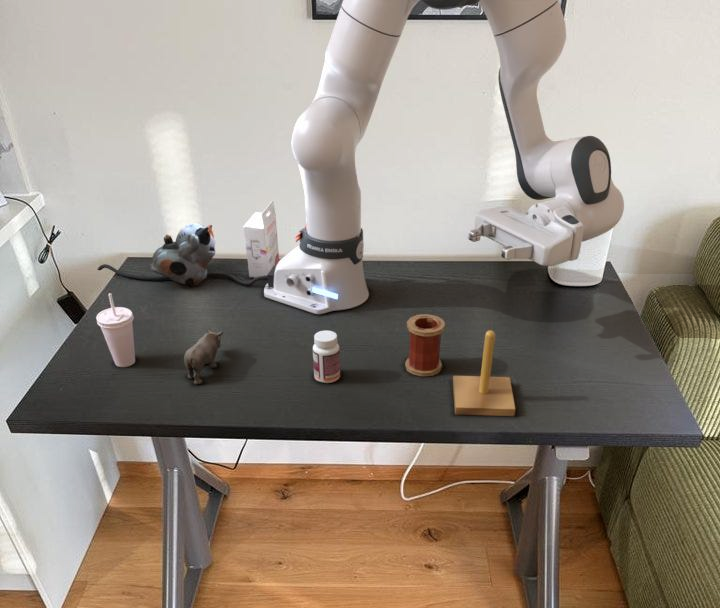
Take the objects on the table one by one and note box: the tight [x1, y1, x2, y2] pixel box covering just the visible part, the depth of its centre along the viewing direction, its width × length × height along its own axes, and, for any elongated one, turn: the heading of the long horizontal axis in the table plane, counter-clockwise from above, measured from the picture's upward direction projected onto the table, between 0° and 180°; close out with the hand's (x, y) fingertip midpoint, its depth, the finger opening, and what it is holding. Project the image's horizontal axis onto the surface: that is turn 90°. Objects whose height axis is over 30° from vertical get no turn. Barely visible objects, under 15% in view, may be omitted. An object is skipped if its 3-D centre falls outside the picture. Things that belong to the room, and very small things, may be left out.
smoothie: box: [95, 292, 136, 368], centre depth 138 cm, size 6×6×14 cm
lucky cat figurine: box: [147, 223, 217, 287], centre depth 167 cm, size 15×12×14 cm
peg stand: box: [452, 329, 516, 417], centre depth 128 cm, size 10×10×13 cm
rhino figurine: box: [183, 327, 224, 385], centre depth 139 cm, size 4×14×6 cm, turn 164°
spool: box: [404, 313, 446, 377], centre depth 138 cm, size 7×7×9 cm
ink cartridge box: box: [242, 200, 280, 279], centre depth 168 cm, size 9×5×15 cm, turn 168°
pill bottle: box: [312, 330, 341, 384], centre depth 136 cm, size 5×5×8 cm
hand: (486, 245), depth 132 cm, fingers open, 8 cm apart
